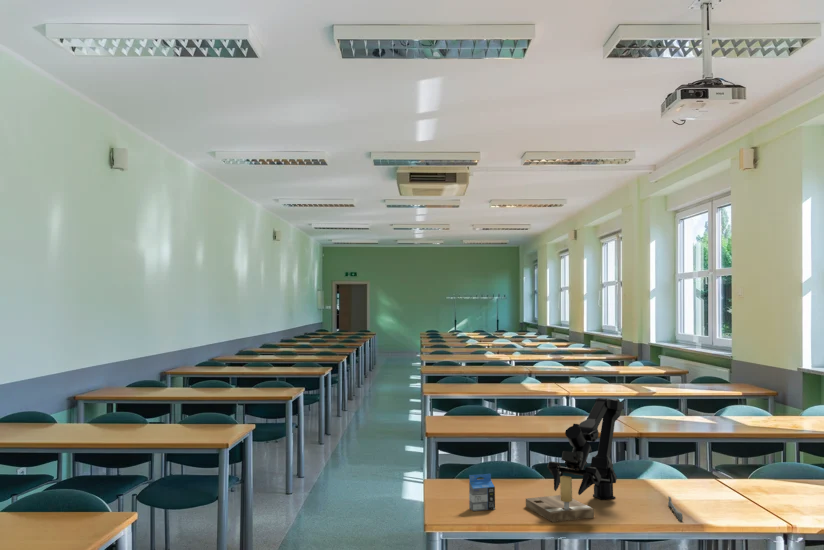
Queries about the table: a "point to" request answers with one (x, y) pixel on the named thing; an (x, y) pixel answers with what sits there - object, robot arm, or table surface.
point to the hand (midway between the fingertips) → (566, 492)
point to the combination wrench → (675, 510)
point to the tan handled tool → (566, 490)
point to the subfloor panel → (559, 508)
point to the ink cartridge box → (481, 493)
